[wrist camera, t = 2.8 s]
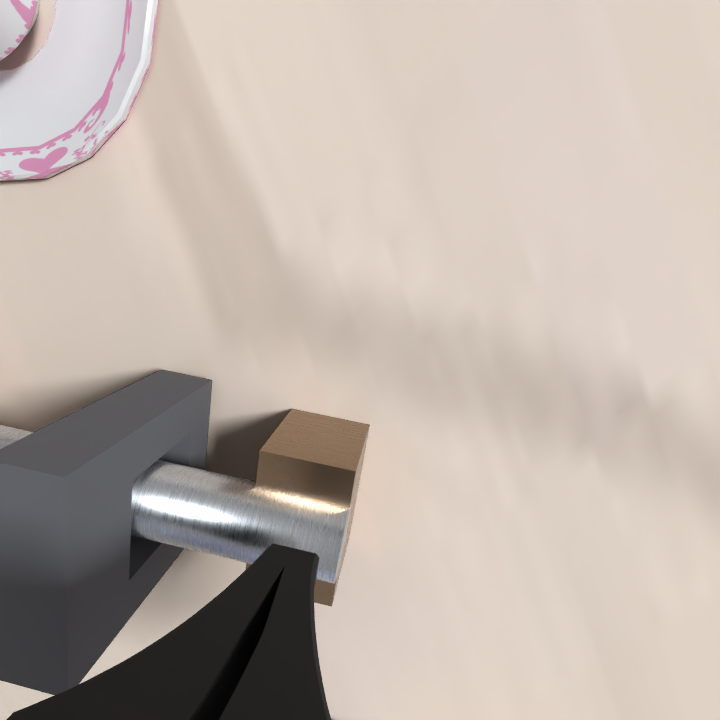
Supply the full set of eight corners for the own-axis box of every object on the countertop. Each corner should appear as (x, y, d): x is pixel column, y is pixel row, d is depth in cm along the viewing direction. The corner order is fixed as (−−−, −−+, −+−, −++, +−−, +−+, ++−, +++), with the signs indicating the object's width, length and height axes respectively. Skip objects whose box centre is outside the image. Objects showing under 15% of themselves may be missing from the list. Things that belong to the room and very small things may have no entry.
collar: (212, 380, 17) (64, 477, 10) (200, 527, 19) (67, 698, 12) (161, 369, 17) (-20, 458, 10) (154, 516, 19) (-4, 679, 12)
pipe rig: (369, 425, 17) (349, 495, 12) (348, 538, 19) (323, 640, 14) (-194, 308, 19) (-396, 331, 14) (-176, 418, 21) (-355, 471, 16)
